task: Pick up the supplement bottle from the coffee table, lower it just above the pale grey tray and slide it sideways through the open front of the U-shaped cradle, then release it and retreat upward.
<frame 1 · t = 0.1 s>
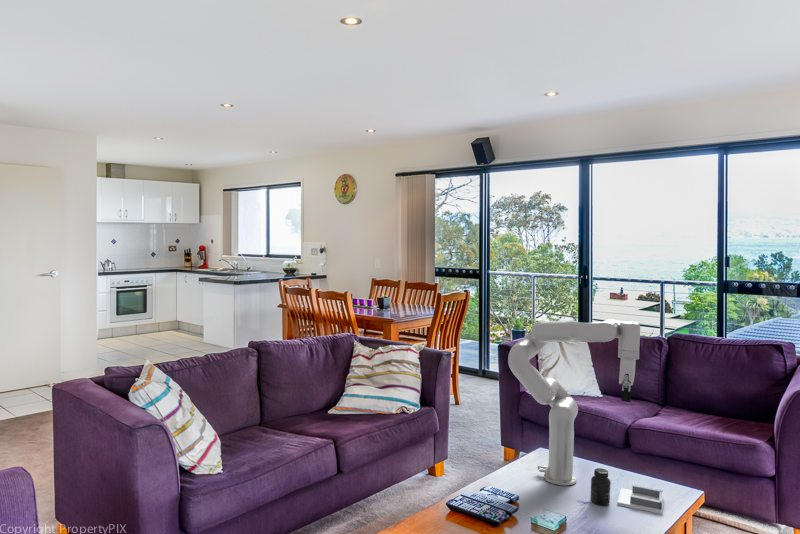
hand: (626, 398, 222), 37 cm above the table, tool pointing down, fingers open, 9 cm apart
cradle tray: (640, 501, 215), on the table
supplement bottle: (599, 502, 214), on the table
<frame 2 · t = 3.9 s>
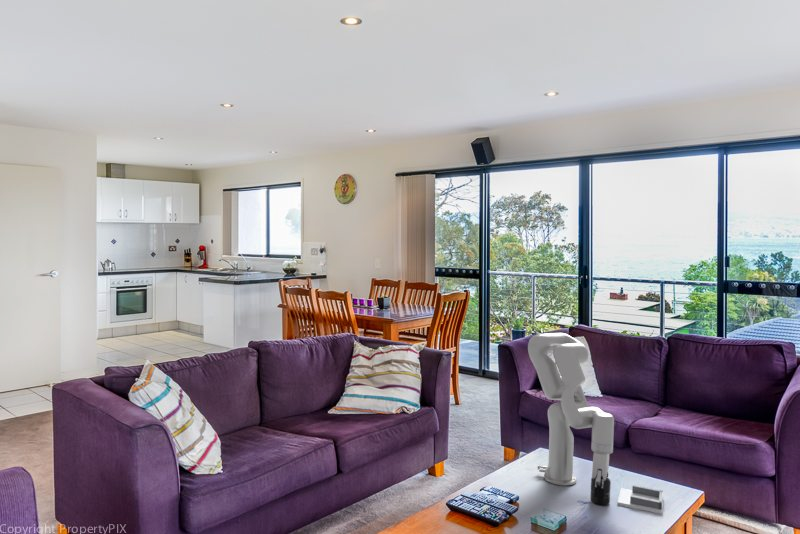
hand: (600, 493, 214), 3 cm above the table, tool pointing down, fingers closed on supplement bottle, 6 cm apart
supplement bottle: (599, 502, 214), on the table, touching gripper
when the fingers open (5 cm above the table, at t = 11.5 s): supplement bottle stays where it is, resting on cradle tray.
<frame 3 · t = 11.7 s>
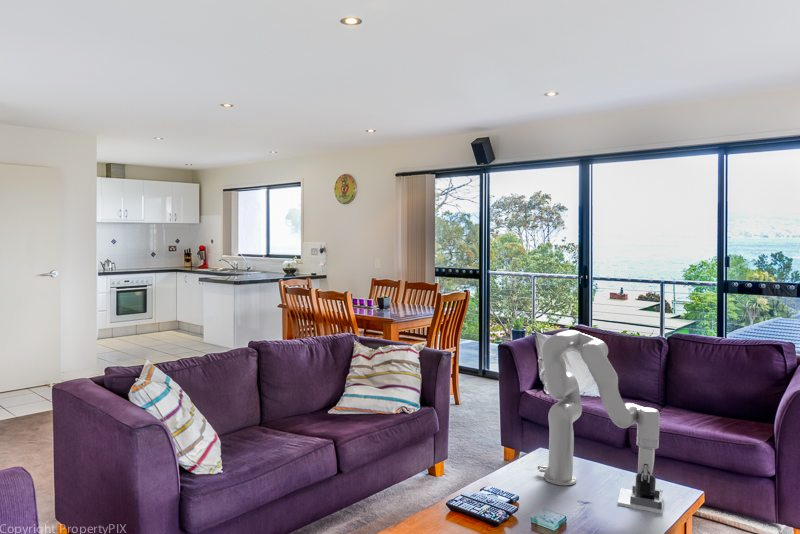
hand: (645, 487, 215), 6 cm above the table, tool pointing down, fingers open, 9 cm apart
supplement bottle: (644, 500, 215), point 1 cm above the table, touching cradle tray
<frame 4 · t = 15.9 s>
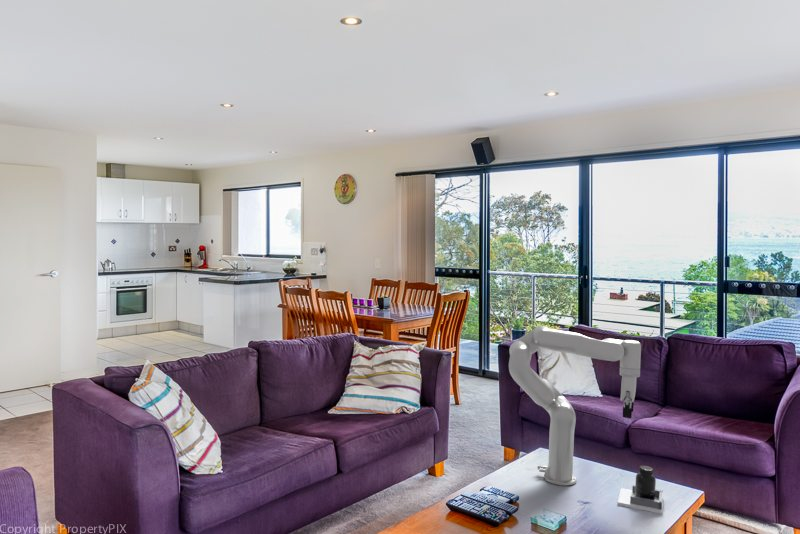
hand: (628, 414, 230), 28 cm above the table, tool pointing down, fingers open, 9 cm apart
nothing on the table moved.
at the end: supplement bottle 0.2 cm from the target spot on the cradle tray, point 0.8 cm above the cradle tray's base; supplement bottle tilted 0°; the gripper is holding nothing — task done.
